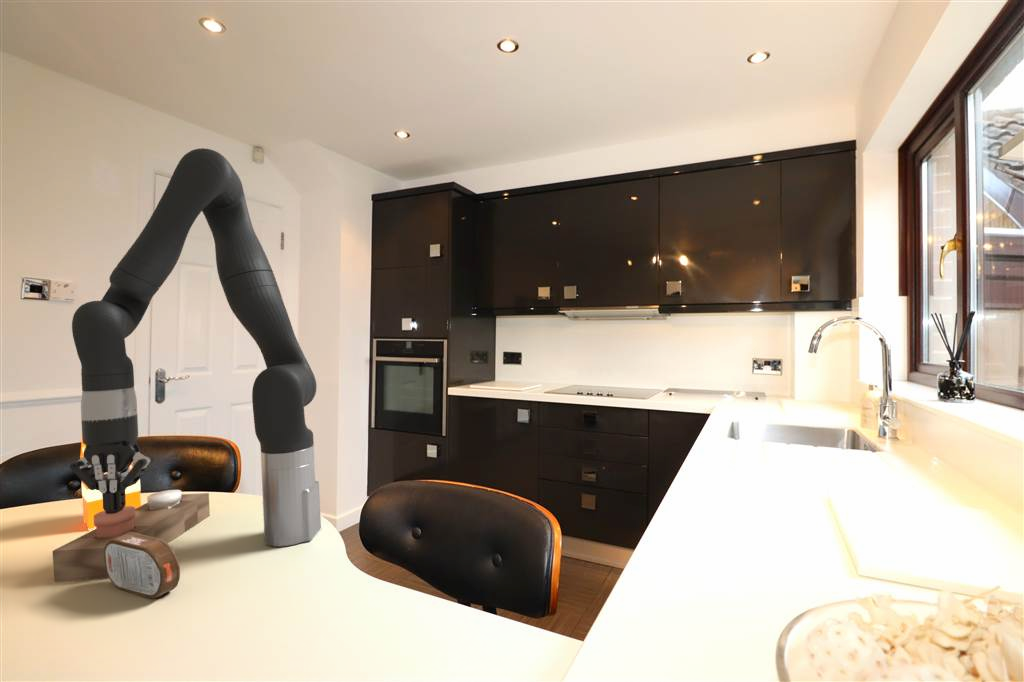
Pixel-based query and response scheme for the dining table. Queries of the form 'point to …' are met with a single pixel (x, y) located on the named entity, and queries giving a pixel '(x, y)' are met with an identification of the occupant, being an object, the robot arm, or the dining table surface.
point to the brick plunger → (114, 522)
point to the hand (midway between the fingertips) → (114, 511)
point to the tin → (141, 565)
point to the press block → (166, 524)
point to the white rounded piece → (164, 499)
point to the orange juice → (95, 500)
